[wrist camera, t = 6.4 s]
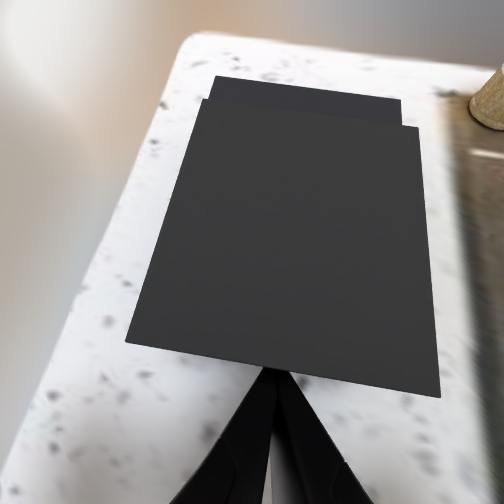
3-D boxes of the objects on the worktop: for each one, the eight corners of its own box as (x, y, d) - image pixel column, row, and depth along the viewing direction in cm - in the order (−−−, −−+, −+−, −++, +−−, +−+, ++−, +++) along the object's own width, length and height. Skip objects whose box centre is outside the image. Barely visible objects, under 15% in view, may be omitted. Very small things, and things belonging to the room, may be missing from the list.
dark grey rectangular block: (367, 207, 20) (406, 160, 15) (208, 184, 20) (196, 131, 15) (367, 154, 21) (402, 97, 17) (222, 134, 22) (214, 72, 17)
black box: (348, 377, 16) (442, 398, 8) (181, 348, 16) (123, 342, 8) (353, 214, 19) (418, 126, 12) (219, 194, 20) (202, 98, 12)
